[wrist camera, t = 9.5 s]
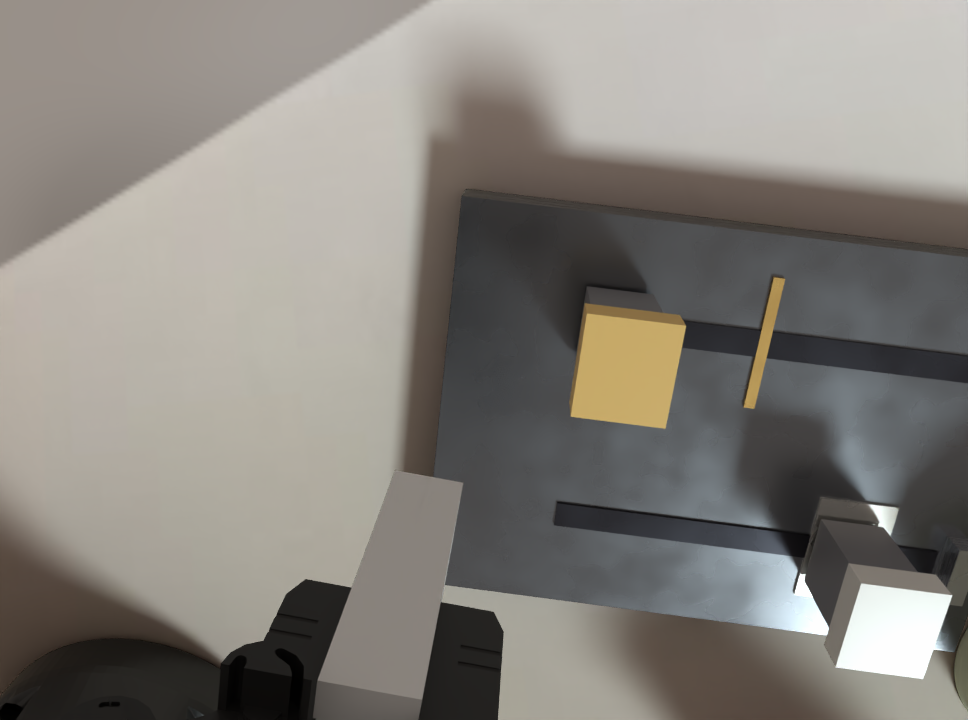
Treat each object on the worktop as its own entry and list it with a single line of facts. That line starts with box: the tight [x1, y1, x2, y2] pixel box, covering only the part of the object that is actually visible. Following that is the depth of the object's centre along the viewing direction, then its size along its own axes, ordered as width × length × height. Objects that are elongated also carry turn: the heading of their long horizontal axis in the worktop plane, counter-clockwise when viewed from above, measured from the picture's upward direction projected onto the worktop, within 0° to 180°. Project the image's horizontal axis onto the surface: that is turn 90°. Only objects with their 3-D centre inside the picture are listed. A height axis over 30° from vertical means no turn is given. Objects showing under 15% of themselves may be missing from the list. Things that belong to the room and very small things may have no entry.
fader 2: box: [804, 519, 952, 679], centre depth 30 cm, size 3×3×5 cm
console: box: [433, 189, 968, 652], centre depth 32 cm, size 22×16×3 cm
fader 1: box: [569, 286, 686, 429], centre depth 28 cm, size 3×3×5 cm
